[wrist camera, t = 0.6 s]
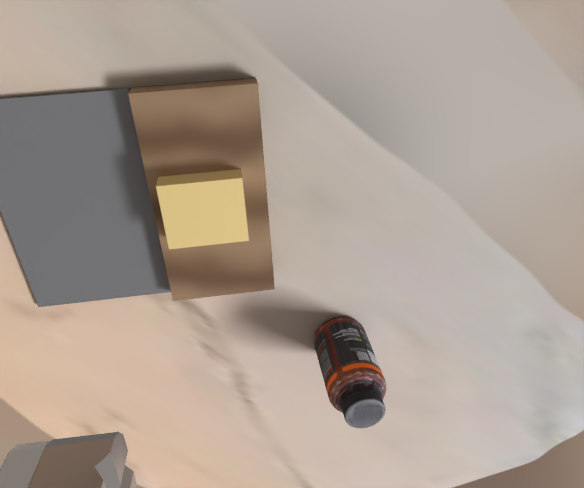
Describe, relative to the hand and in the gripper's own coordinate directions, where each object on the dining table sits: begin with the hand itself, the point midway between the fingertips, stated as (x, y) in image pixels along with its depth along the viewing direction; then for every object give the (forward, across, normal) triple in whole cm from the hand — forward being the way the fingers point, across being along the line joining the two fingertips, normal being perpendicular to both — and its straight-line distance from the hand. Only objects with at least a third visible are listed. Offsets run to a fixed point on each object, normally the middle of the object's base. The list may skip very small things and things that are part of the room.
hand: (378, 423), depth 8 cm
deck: (+38, +4, +8) cm, 39 cm away
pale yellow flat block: (+36, +5, +8) cm, 37 cm away
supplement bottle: (+40, -8, +27) cm, 49 cm away
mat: (+38, +16, +8) cm, 42 cm away
